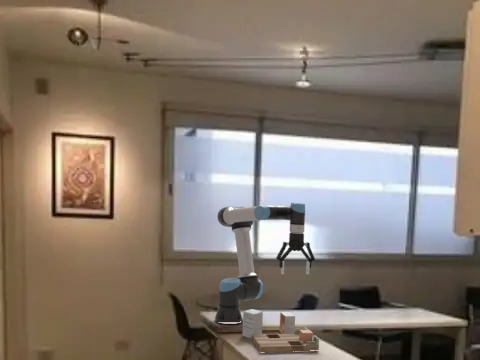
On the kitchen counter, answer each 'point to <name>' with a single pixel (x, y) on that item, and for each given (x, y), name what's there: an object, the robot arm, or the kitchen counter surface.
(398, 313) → the kitchen counter surface
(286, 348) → the tray
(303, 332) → the block
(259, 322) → the supplement box
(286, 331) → the small box
